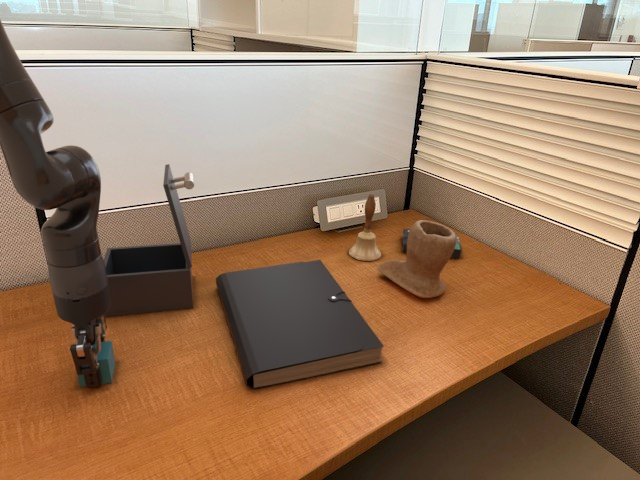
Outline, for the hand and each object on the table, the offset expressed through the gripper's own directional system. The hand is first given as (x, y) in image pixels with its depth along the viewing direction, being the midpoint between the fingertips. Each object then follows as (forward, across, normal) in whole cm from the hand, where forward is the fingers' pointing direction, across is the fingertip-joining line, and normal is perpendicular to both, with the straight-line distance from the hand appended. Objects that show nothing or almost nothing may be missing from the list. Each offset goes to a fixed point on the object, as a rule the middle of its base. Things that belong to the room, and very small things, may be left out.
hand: (97, 372), depth 78 cm
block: (+1, 0, 0) cm, 1 cm away
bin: (+1, -23, +7) cm, 24 cm away
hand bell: (+1, -34, +58) cm, 68 cm away
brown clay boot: (+1, -18, +65) cm, 67 cm away
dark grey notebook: (+1, -9, +34) cm, 35 cm away
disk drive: (+1, -35, +77) cm, 84 cm away
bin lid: (-17, -23, +14) cm, 32 cm away
